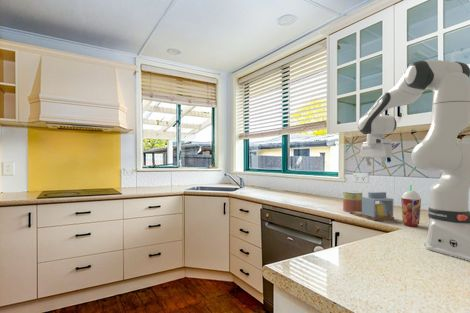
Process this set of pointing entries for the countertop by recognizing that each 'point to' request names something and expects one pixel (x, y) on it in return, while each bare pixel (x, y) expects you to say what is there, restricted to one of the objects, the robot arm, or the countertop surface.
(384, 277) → the countertop surface
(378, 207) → the yellow block
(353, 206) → the canned food
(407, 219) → the smoothie
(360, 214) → the peg board
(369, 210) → the cover
